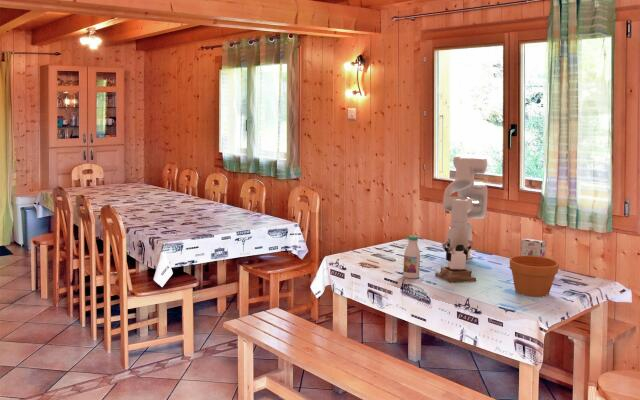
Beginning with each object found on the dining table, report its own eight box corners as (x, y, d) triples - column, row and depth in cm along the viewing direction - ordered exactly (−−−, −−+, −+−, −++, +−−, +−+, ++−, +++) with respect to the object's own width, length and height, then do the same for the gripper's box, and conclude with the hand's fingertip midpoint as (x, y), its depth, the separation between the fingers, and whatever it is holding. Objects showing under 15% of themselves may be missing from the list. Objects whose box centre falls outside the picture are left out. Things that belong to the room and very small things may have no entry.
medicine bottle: (461, 265, 315) (463, 241, 313) (465, 269, 308) (467, 245, 306) (447, 265, 314) (448, 241, 313) (450, 269, 307) (452, 244, 306)
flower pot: (544, 302, 276) (547, 268, 274) (499, 292, 289) (501, 260, 287) (563, 293, 291) (566, 261, 289) (519, 283, 305) (522, 253, 303)
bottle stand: (435, 275, 315) (435, 266, 315) (459, 273, 321) (460, 264, 320) (451, 282, 303) (451, 273, 302) (476, 280, 308) (476, 271, 307)
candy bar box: (544, 272, 329) (546, 241, 326) (539, 274, 325) (542, 242, 323) (523, 268, 336) (525, 237, 334) (519, 269, 332) (521, 238, 330)
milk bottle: (409, 274, 317) (411, 234, 314) (422, 277, 312) (424, 236, 309) (399, 276, 312) (401, 235, 309) (412, 279, 306) (414, 238, 304)
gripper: (469, 222, 315) (467, 257, 317) (438, 224, 308) (436, 259, 311) (478, 225, 308) (476, 260, 310) (447, 226, 301) (445, 262, 304)
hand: (456, 259), depth 310 cm, fingers closed on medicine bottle, 8 cm apart
